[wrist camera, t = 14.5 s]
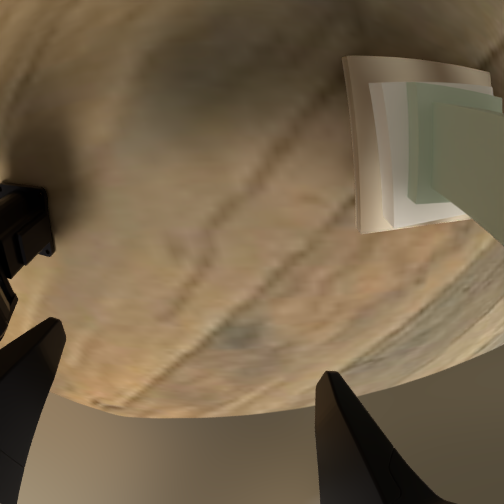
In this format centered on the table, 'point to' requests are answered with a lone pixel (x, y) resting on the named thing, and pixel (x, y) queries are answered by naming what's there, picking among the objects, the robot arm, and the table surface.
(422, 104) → the sage pillar
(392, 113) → the whitewashed top slab
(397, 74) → the ash base slab
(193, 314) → the table surface
